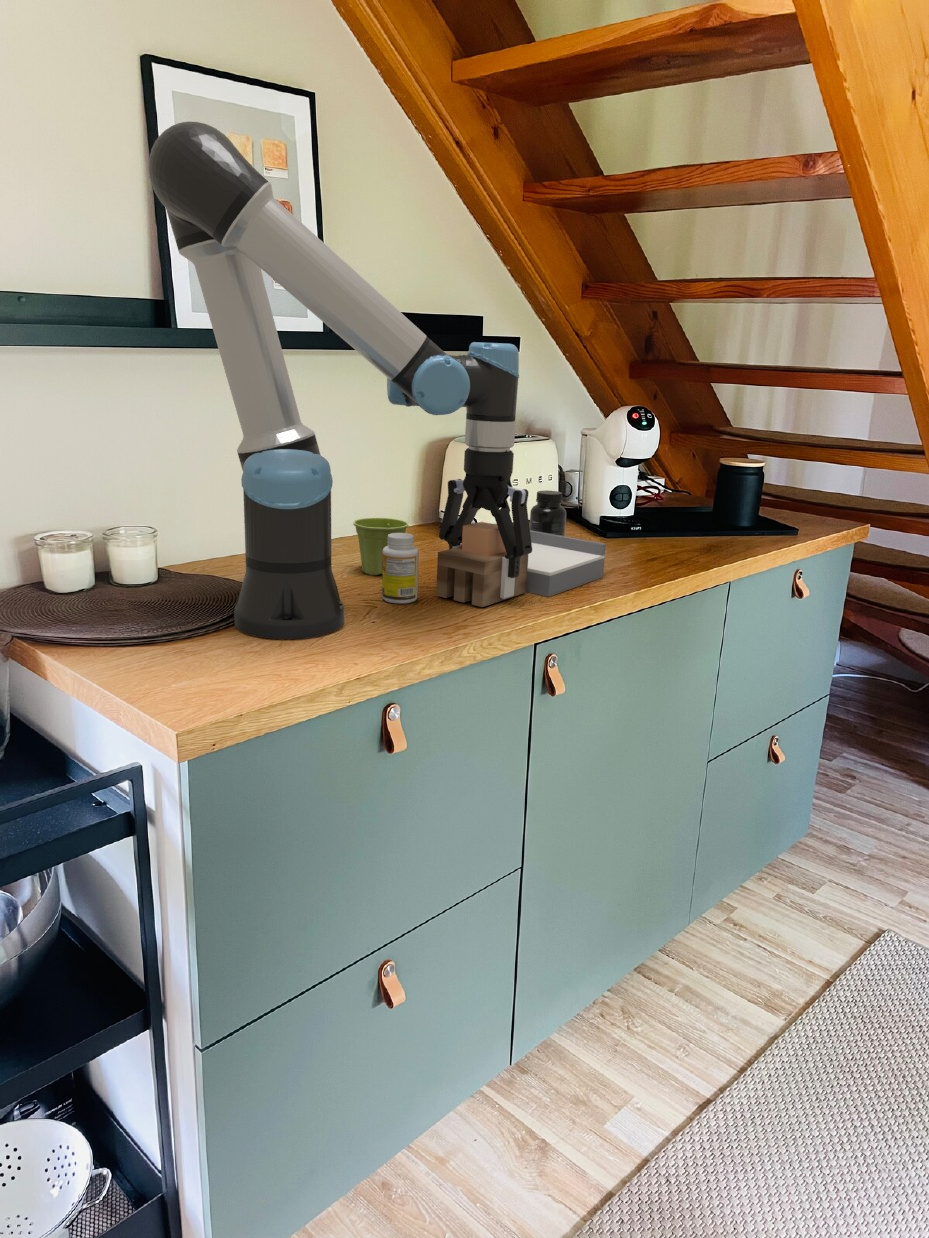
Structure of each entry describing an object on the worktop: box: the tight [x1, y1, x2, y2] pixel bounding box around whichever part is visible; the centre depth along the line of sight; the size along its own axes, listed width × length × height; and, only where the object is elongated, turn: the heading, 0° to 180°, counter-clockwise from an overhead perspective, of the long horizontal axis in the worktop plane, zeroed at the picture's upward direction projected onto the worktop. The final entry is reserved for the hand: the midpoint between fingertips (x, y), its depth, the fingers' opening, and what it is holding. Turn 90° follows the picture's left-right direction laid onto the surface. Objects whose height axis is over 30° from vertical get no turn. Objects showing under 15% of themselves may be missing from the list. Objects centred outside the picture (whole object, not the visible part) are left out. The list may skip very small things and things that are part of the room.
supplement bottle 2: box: [529, 490, 567, 537], centre depth 175 cm, size 7×7×12 cm
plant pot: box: [352, 517, 410, 576], centre depth 157 cm, size 9×9×9 cm
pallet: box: [436, 546, 528, 608], centre depth 145 cm, size 12×9×7 cm
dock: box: [526, 530, 607, 598], centre depth 157 cm, size 18×16×6 cm
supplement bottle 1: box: [381, 532, 420, 605], centre depth 141 cm, size 6×6×10 cm
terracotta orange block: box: [461, 521, 506, 556], centre depth 143 cm, size 5×5×4 cm
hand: (481, 590), depth 146 cm, fingers closed on pallet, 9 cm apart
